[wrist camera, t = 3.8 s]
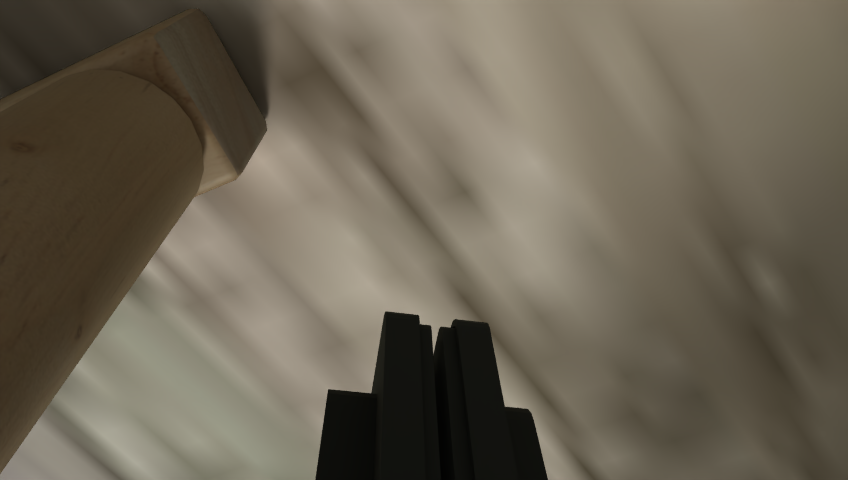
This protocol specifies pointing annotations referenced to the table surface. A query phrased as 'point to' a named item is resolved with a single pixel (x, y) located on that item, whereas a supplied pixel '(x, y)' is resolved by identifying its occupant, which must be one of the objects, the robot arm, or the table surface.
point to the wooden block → (104, 192)
